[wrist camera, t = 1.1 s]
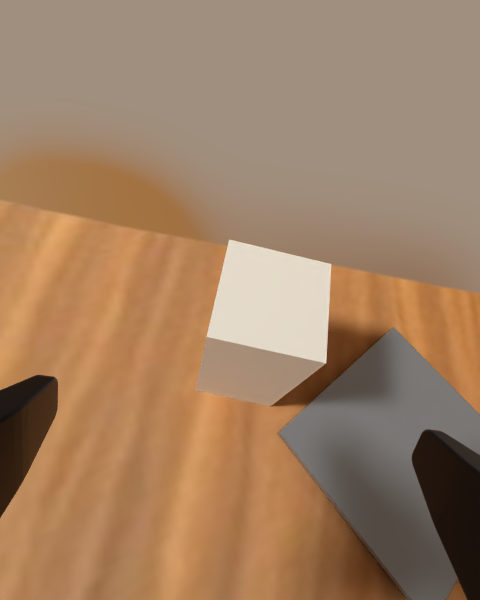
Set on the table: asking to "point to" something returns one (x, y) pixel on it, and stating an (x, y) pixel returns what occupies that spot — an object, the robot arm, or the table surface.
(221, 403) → the table surface
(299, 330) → the cream block
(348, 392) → the slate coaster
